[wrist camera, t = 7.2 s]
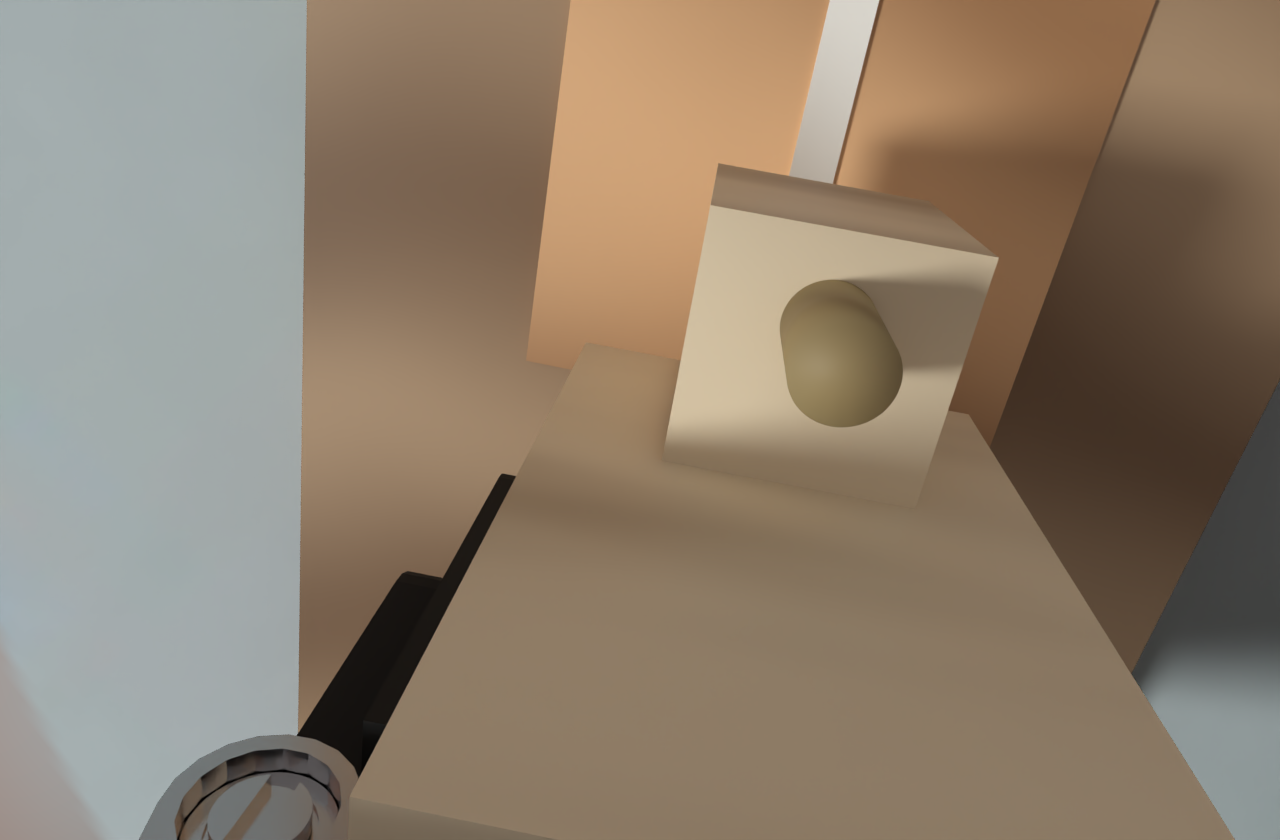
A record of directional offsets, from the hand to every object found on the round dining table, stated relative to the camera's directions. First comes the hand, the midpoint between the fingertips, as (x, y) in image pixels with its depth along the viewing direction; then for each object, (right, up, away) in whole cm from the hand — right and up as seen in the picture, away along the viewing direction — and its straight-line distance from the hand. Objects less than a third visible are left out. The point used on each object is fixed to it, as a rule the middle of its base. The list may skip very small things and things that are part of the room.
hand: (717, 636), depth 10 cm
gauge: (0, 0, 0) cm, 0 cm away
